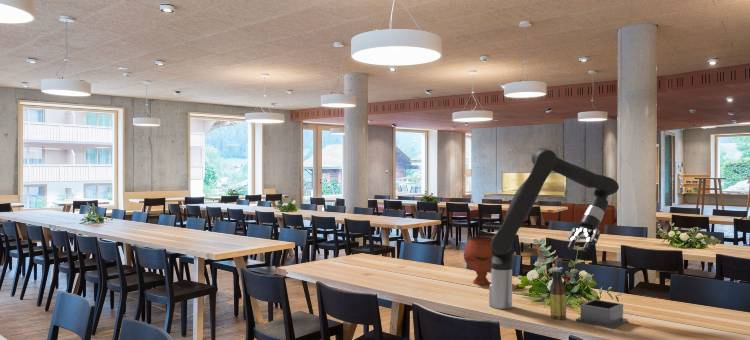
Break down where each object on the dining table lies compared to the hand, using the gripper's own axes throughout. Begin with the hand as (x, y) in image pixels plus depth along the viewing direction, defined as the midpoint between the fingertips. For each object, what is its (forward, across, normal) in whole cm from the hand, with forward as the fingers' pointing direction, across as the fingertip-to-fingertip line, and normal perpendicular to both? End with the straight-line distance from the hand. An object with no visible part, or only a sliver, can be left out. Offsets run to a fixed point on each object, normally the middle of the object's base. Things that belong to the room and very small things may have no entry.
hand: (577, 249), depth 237 cm
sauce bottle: (+30, 0, +6) cm, 30 cm away
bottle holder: (+22, +11, +17) cm, 30 cm away
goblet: (+18, -72, +15) cm, 76 cm away
